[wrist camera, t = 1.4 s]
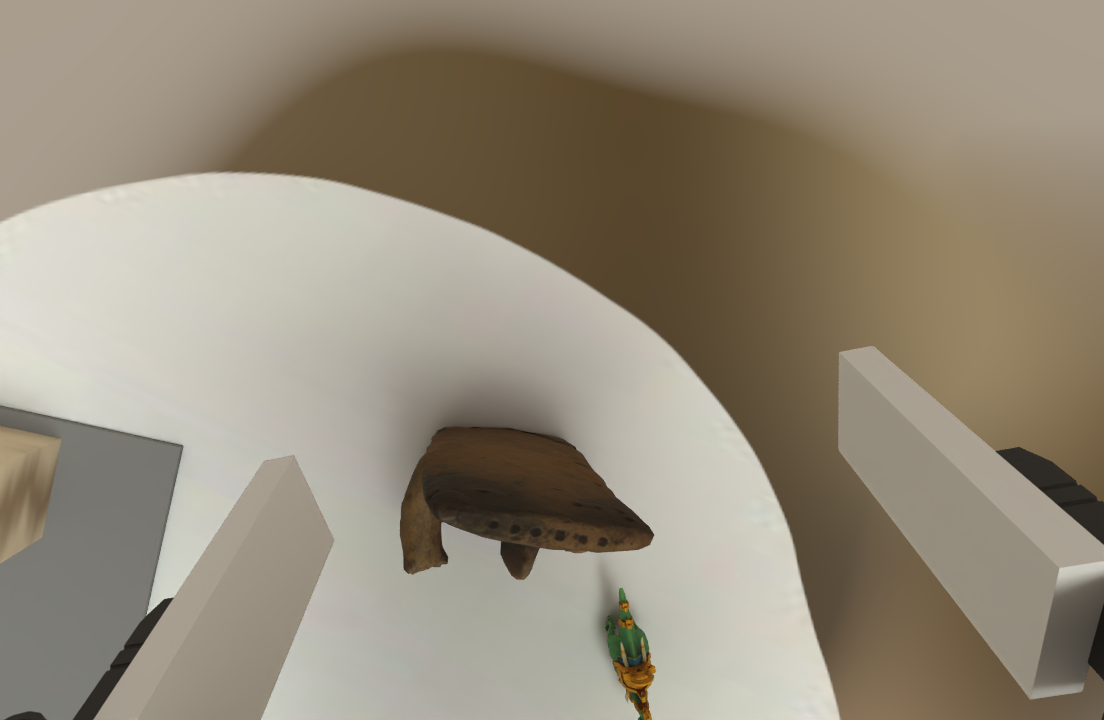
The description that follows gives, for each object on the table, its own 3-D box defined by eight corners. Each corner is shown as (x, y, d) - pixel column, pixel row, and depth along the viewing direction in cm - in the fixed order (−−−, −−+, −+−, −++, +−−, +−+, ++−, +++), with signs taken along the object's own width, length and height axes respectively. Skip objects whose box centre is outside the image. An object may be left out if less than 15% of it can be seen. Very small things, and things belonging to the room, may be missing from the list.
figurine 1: (410, 518, 48) (374, 666, 28) (416, 420, 47) (384, 498, 27) (579, 523, 50) (659, 664, 30) (587, 429, 49) (674, 508, 29)
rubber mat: (118, 739, 48) (115, 743, 47) (-178, 696, 44) (-184, 700, 44) (183, 446, 45) (180, 447, 45) (-127, 378, 42) (-132, 379, 42)
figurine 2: (613, 692, 52) (638, 768, 44) (588, 562, 50) (610, 618, 42) (648, 683, 53) (679, 757, 45) (625, 554, 51) (653, 607, 43)
